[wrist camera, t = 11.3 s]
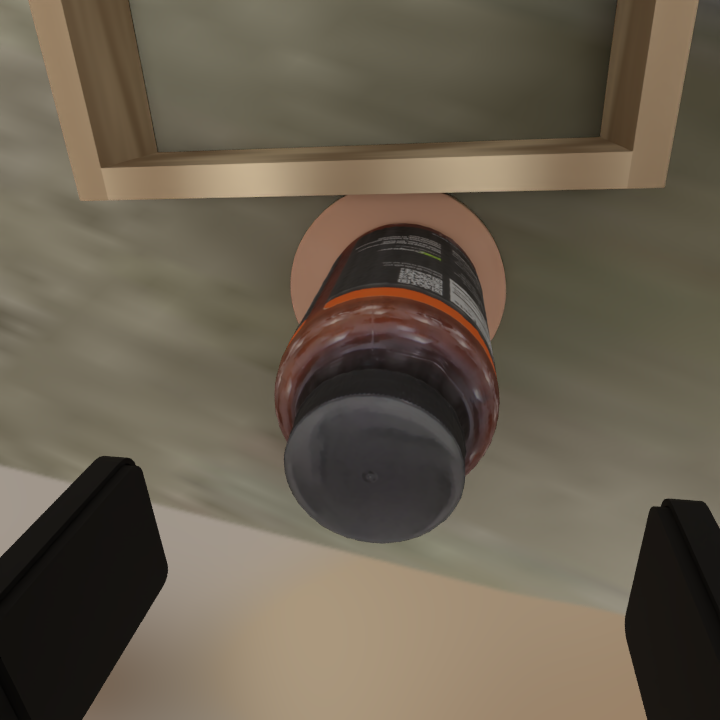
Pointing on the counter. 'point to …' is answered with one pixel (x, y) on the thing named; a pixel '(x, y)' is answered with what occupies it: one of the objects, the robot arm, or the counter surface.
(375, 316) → the supplement bottle
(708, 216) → the counter surface
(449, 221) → the saucer
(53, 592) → the robot arm
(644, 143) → the frame
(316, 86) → the counter surface
